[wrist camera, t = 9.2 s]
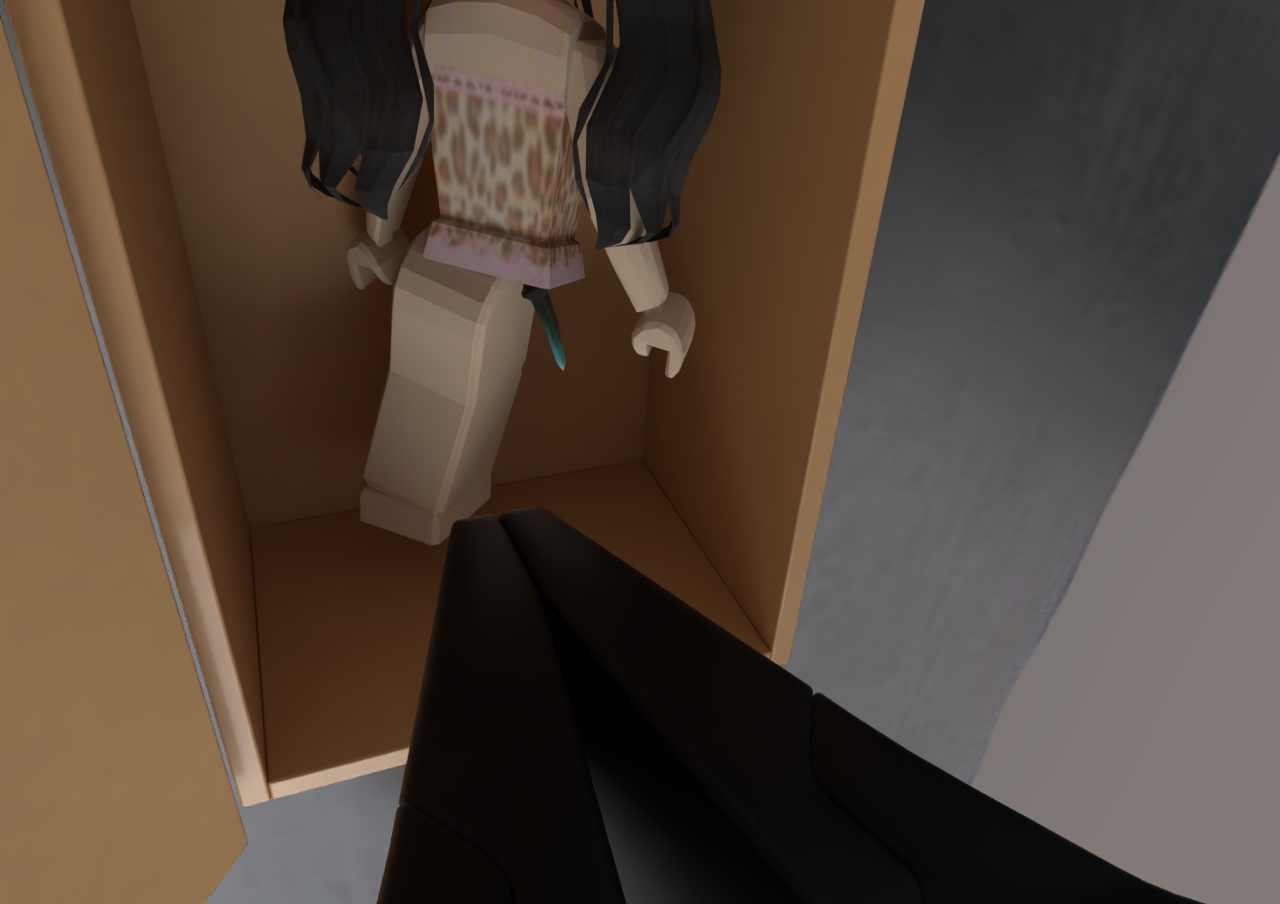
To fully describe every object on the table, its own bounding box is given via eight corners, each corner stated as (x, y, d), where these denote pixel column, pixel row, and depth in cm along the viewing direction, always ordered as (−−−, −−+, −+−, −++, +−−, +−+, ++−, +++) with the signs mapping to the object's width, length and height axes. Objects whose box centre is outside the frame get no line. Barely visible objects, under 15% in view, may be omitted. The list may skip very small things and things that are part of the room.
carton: (651, 461, 26) (790, 663, 20) (230, 535, 22) (241, 809, 16) (717, -396, 16) (1033, -515, 10) (-24, -512, 12) (-238, -810, 6)
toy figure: (682, 526, 21) (834, -324, 14) (564, 705, 16) (707, -528, 8) (407, 439, 23) (413, -350, 16) (217, 573, 17) (92, -530, 10)
